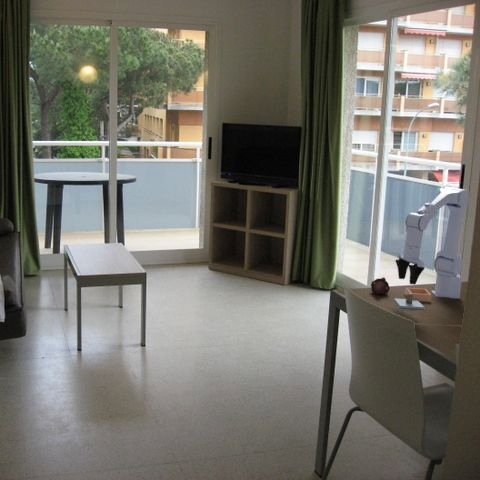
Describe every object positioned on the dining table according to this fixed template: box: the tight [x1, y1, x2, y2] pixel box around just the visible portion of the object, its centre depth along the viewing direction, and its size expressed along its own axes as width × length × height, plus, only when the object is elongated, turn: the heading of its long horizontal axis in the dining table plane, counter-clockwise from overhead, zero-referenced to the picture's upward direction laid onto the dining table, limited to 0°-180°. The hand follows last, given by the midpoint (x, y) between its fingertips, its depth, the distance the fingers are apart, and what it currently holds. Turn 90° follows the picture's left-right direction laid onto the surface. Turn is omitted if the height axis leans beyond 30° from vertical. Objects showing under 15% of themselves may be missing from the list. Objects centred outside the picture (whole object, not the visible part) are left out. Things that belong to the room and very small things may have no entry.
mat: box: [392, 299, 426, 311], centre depth 258 cm, size 10×10×1 cm
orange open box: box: [404, 287, 432, 303], centre depth 267 cm, size 8×8×4 cm
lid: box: [393, 293, 425, 310], centre depth 258 cm, size 9×9×4 cm
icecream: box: [370, 276, 391, 295], centre depth 270 cm, size 7×7×15 cm
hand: (406, 281), depth 255 cm, fingers open, 7 cm apart
